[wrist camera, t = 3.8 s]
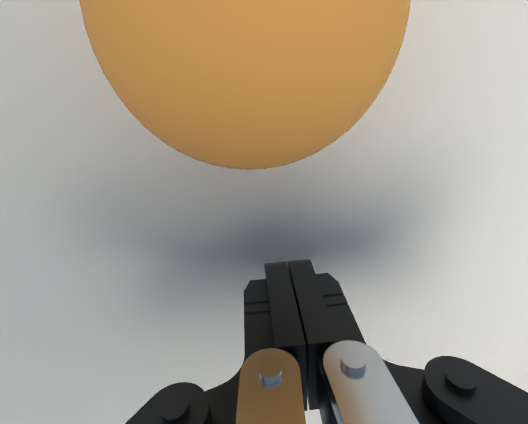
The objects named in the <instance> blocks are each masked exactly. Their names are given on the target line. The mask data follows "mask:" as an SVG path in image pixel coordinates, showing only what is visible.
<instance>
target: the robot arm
mask: <svg viewBox="0 0 528 424" xmlns="http://www.w3.org/2000/svg"><path fill="white" fill-rule="evenodd" d="M265 274H266V279H261V280H250V282H249V283H248V285H247V287H246V289H245V290H244V333H245V358H244V362H243V364H242V367H241V368H240V370H239V371H238V372H237V374H236V375H235V376H234V377H233V378H231V379H230V380H229V381H227V382H226V383H223V384H221V385H219V386H217V387H215V388H212V389H210V390H207V391H205V392H204V391H203V389H202V388H200V387H199V386H197V385H195V384H193V383H187V382H181V383H175V384H172V385H169V386H167V387H165V388H163V389H162V390H160V391H159V392H158V393H156V394H155V395H154V396H153V397H152V398H151V399H150V400H149V401H148V402H147V403H146V404H145V405H144V406H143V407H142V408H141V409H140V410H139V411H138V412H137V413H136V414H135V415H134V416H133V417H131V418H130V419H129V420H128V421H127V422H126V423H125V424H306V422H305V413H304V411H306V410H307V399H308V404H309V409H310V410H314V409H319V410H320V414H321V419H322V423H323V424H528V393H527V392H526V391H524V390H522V389H520V388H518V387H516V386H514V385H512V384H510V383H509V382H507V381H505V380H503V379H501V378H499V377H497V376H495V375H494V374H492V373H490V372H488V371H486V370H484V369H482V368H480V367H478V366H477V365H475V364H473V363H471V362H469V361H466V360H464V359H461V358H457V357H452V356H441V357H436V358H434V359H432V360H430V361H429V362H428V363H427V365H426V366H425V370H422V369H416V368H410V367H405V366H399V365H395V364H392V363H389V362H387V361H385V360H383V359H382V358H381V356H380V355H379V354H378V353H377V352H376V351H375V350H374V349H373V348H371V347H370V346H368V345H366V343H365V341H364V339H363V336H362V334H361V332H360V330H359V327H358V325H357V323H356V321H355V318H354V316H353V314H352V312H351V309H350V307H349V305H348V303H347V301H346V298H345V296H344V295H343V292H342V289H341V287H340V285H339V283H338V281H336V280H335V279H334V278H333V277H332V276H331V275H329V274H328V273H322V274H315V272H314V269H313V266H312V263H311V261H310V259H308V260H298V261H288V266H287V262H277V263H267V264H265Z"/></svg>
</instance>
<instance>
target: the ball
mask: <svg viewBox="0 0 528 424" xmlns="http://www.w3.org/2000/svg"><path fill="white" fill-rule="evenodd" d="M80 6H81V10H82V15H83V19H84V24H85V28H86V31H87V34H88V37H89V40H90V43H91V45H92V48H93V51H94V54H95V56H96V58H97V60H98V62H99V64H100V66H101V68H102V71H103V73H104V74H105V76H106V78H107V79H108V81H109V83H110V84H111V86H112V88H113V89H114V91H115V92H116V94H117V95H118V97H119V98H120V99H121V101H122V102H123V103H124V104H125V106H126V107H127V108H128V110H129V111H130V112H131V113H132V114H133V115H134V116H135V117H136V118H137V119H138V120H139V121H140V122H141V123H142V124H143V125H144V126H145V127H146V128H147V129H148V130H149V131H150V132H152V133H153V134H154V135H155V136H157V137H158V138H159V139H160V140H162V141H163V142H165V143H166V144H168V145H169V146H171V147H173V148H174V149H176V150H177V151H179V152H181V153H184V154H186V155H188V156H190V157H192V158H194V159H197V160H200V161H203V162H206V163H209V164H212V165H216V166H221V167H226V168H233V169H246V170H250V169H266V168H272V167H277V166H283V165H286V164H289V163H292V162H295V161H299V160H301V159H303V158H305V157H308V156H310V155H312V154H314V153H316V152H318V151H320V150H321V149H323V148H324V147H326V146H328V145H329V144H331V143H332V142H334V141H335V140H336V139H338V138H339V137H340V136H341V135H343V134H344V133H345V132H346V131H348V130H349V129H350V128H351V127H352V126H353V125H354V124H355V123H356V122H357V121H358V120H359V119H360V118H361V117H362V115H363V114H364V113H365V112H366V110H367V109H368V108H369V107H370V105H371V104H372V103H373V102H374V100H375V99H376V97H377V95H378V94H379V92H380V91H381V89H382V87H383V86H384V84H385V83H386V81H387V79H388V76H389V74H390V72H391V70H392V68H393V66H394V64H395V62H396V59H397V56H398V53H399V50H400V47H401V45H402V42H403V38H404V34H405V29H406V25H407V21H408V16H409V8H410V0H80Z"/></svg>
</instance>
